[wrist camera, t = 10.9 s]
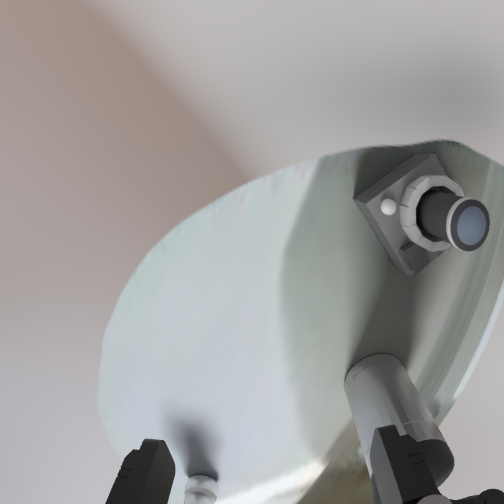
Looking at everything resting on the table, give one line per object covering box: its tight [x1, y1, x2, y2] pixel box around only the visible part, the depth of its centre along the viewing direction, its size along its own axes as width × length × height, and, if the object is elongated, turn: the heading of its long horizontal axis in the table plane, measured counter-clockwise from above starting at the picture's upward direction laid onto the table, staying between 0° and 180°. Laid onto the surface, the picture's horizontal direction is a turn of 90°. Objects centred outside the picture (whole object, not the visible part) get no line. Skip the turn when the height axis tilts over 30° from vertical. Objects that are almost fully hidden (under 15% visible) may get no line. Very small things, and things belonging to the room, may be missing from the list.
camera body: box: [354, 152, 465, 278], centre depth 32 cm, size 10×10×7 cm
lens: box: [416, 190, 490, 252], centre depth 27 cm, size 5×5×8 cm
